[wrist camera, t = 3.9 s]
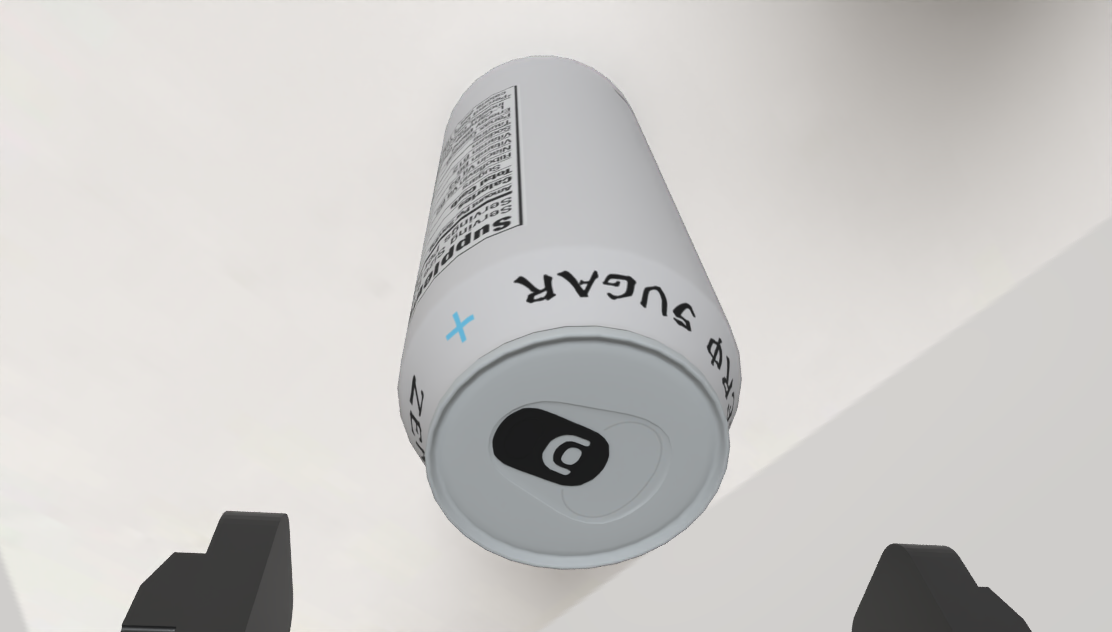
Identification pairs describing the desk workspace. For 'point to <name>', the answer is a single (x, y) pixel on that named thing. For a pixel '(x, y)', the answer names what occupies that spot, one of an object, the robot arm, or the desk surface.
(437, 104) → the desk surface
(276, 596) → the robot arm
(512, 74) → the energy drink can
